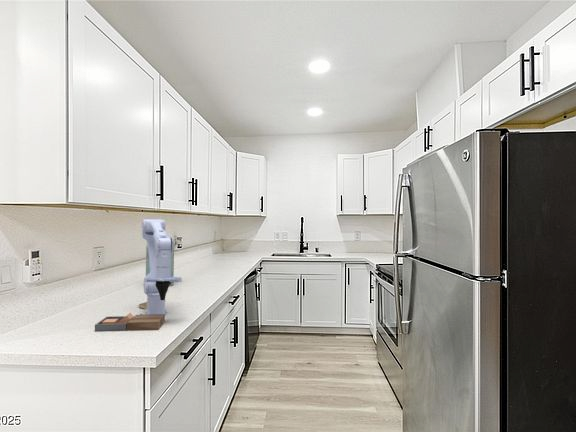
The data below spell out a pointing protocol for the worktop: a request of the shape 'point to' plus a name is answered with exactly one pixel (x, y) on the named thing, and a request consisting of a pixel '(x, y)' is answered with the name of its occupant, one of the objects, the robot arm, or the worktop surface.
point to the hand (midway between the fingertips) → (162, 299)
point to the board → (146, 322)
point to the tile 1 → (110, 321)
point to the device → (171, 262)
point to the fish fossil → (143, 305)
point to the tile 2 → (125, 319)
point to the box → (111, 325)
